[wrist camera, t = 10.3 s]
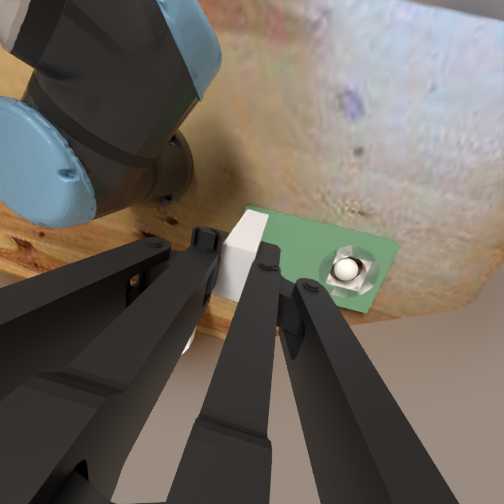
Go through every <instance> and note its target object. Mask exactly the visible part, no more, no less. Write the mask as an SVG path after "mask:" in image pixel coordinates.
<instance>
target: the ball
mask: <svg viewBox="0 0 504 504" xmlns="http://www.w3.org/2000/svg"><path fill="white" fill-rule="evenodd" d="M334 273H335V275H336V276H337V277H338V278H339V279H341V280H345V281H347V280H351V279H353V278H354V277H355V276H356V275H357V273H358V266H357V264H356V262H355V261H354V260H352V259H350V258H342V259H339V260H338V261H337V262H336V263H335V265H334Z"/></svg>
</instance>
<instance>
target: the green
mask: <svg viewBox="0 0 504 504" xmlns="http://www.w3.org/2000/svg"><path fill="white" fill-rule="evenodd" d="M247 209H249V210H253V211H256V212H260V213H264V214H268V215H269V217H268V220H267V224H266V228H265V231H264V235H263V239H262V241H264V242H267V243H271V244H275V245H278V246H279V248H280V249H281V254H280V264H279V267H280V268H281V275H282V276H283V277H284V278H286V279H287V280H289V281H291V282H293V283H295V282H296V281H297V279H299V278H308V279H313V280H316V281H318V282H319V283H320V284H322V285H323V286H324V287H325V288H326V290H327V291H328V293H329V294H330V296H331V298H332V299H333V301H334V302H335V304H336V306H340V307H344V308H348V309H351V310H355V311H359V312H363V313H367V312H368V310H369V308H370V306H371V304H372V302H373V300H374V298H375V296H376V294H377V292H378V290H379V288H380V286H381V284H382V282H383V280H384V277H385V275H386V273H387V271H388V269H389V267H390V265H391V263H392V261H393V259H394V257H395V255H396V253H397V251H398V249H399V247H400V244H399V243H398V242H396V241H395V240H393V239H389V238H385V237H380V236H376V235H372V234H368V233H364V232H359V231H355V230H351V229H347V228H343V227H338V226H334V225H330V224H326V223H322V222H317V221H313V220H309V219H305V218H300V217H296V216H292V215H288V214H284V213H279V212H275V211H271V210H267V209H263V208H258V207H254V206H250V205H247V206H246V207H245V210H244V214H245V212H246V211H247ZM346 257H353V258H357V259H360V260H361V261H362V264H363V268H362V271H361V273H360V275H358V276H357V277H356V278H354V279H353V280H349V281H340V280H336V279H334V278H333V277H332V276H331V275H330V270H331V268H332V265H333V264H334V263H336V262H337V261H338V260H339V259H342V258H346Z"/></svg>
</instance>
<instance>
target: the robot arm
mask: <svg viewBox="0 0 504 504" xmlns="http://www.w3.org/2000/svg"><path fill="white" fill-rule="evenodd" d="M0 44H1V46H2V48H3V49H4V50H6V51H7V52H8V53H10V54H12V55H13V56H15V57H17V58H18V59H20V60H21V61H23V62H25V63H26V64H28V65H30V66H31V67H33V68H34V71H33V73H32V76H31V78H30V80H29V83H28V85H27V87H26V90H25V92H24V94H23V97H22V98H21V99H20V100H18V99H15V98H10V97H6V96H0V200H1V201H2V202H3V203H4V204H5V205H6V206H7V207H9V208H10V209H11V210H12V211H13V212H15V213H16V214H18V215H19V216H21V217H22V218H24V219H26V220H27V221H29V222H32V223H34V224H36V225H39V226H43V227H50V228H56V229H57V228H66V227H71V226H76V225H83V224H86V223H89V222H90V221H91V220H94V219H97V218H100V217H102V216H105V215H108V214H111V213H114V212H116V211H119V210H122V209H125V208H127V207H130V206H133V205H140V206H146V207H160V206H165V205H167V204H170V203H172V202H174V201H176V200H177V199H179V198H180V197H181V196H182V195H183V194H184V193H185V191H186V190H187V188H188V186H189V184H190V182H191V178H192V172H193V162H192V156H191V152H190V149H189V146H188V144H187V142H186V140H185V138H184V136H183V135H182V133H181V132H180V131H179V130H178V128H179V127H180V126H181V124H182V123H183V122H184V120H185V119H186V118H187V116H188V115H189V114H190V112H191V111H192V110H193V108H194V107H195V106H196V104H197V103H198V102H199V101H200V102H201V101H202V99H203V94H204V92H205V91H206V89H207V88H208V86H209V85H210V83H211V82H212V80H213V79H214V77H215V76H216V74H217V73H218V71H219V69H220V66H221V62H222V54H221V48H220V45H219V42H218V39H217V37H216V35H215V32H214V30H213V28H212V26H211V24H210V23H209V21H208V19H207V17H206V15H205V14H204V12H203V10H202V8H201V6H200V5H199V3H198V1H197V0H0ZM268 217H269V215H268V214H264V213H260V212H256V211H253V210H249V209H247V211H246V212H245V214H244V215H243V216H242V218H241V219H240V221H239V222H238V223H237V225H236V226H235V228H234V229H233V230H232V232H231V233H228V232H225V231H221V230H216V229H214V228H210V227H195V228H193V232H192V240H191V246H190V247H189V248H188V249H187V250H186V251H174V250H171V244H170V242H169V241H167V240H165V239H162V238H159V237H148V238H143V239H140V240H137V241H134V242H131V243H129V244H126V245H123V246H120V247H117V248H114V249H111V250H108V251H106V252H103V253H100V254H97V255H94V256H91V257H88V258H86V259H83V260H80V261H77V262H74V263H71V264H68V265H66V266H63V267H60V268H57V269H54V270H51V271H48V272H45V273H43V274H40V275H37V276H34V277H31V278H28V279H25V280H23V281H20V282H17V283H14V284H11V285H8V286H5V287H3V288H0V504H115V503H113V502H111V501H110V500H111V498H112V495H113V493H114V490H115V488H116V485H117V482H118V479H119V476H120V473H121V470H122V468H123V465H124V463H125V461H126V459H127V457H128V455H129V453H130V451H131V449H132V447H133V445H134V443H135V441H136V440H137V438H138V436H139V434H140V432H141V430H142V428H143V426H144V424H145V422H146V421H147V419H148V417H149V415H150V413H151V411H152V409H153V407H154V405H155V403H156V402H157V400H158V398H159V396H160V394H161V392H162V390H163V388H164V386H165V385H166V382H167V381H168V379H169V377H170V375H171V373H172V371H173V369H174V367H175V366H176V364H177V362H178V360H179V358H180V356H181V354H182V352H183V351H184V349H185V347H186V345H187V343H188V341H189V339H190V337H191V335H192V334H193V332H194V330H195V328H196V326H197V324H198V322H199V320H200V318H201V317H202V315H203V313H204V311H205V309H206V307H207V305H208V303H209V301H210V297H211V292H212V290H213V288H214V291H213V295H215V296H219V297H222V298H226V299H229V300H233V301H236V302H238V305H237V308H236V311H235V313H234V316H233V319H232V322H231V325H230V328H229V331H228V334H227V336H226V339H225V342H224V345H223V348H222V351H221V354H220V357H219V359H218V363H217V365H216V368H215V371H214V374H213V377H212V380H211V383H210V385H209V388H208V391H207V394H206V397H205V400H204V403H203V406H202V409H201V411H200V414H199V416H198V417H197V418H196V420H195V423H194V425H193V427H192V430H191V433H190V436H189V438H188V441H187V444H186V447H185V449H184V452H183V455H182V458H181V461H180V463H179V466H178V469H177V472H176V475H175V477H174V480H173V483H172V486H171V489H170V492H169V494H168V497H167V500H166V502H160V503H138V504H269V496H270V481H271V465H272V446H271V441H270V440H269V439H268V437H267V427H268V415H269V403H270V391H271V380H272V369H273V358H274V346H275V335H276V325H277V326H278V327H279V336H280V340H281V344H282V348H283V352H284V356H285V360H286V365H287V369H288V372H289V377H290V380H291V385H292V389H293V393H294V397H295V401H296V405H297V409H298V413H299V417H300V421H301V426H302V430H303V434H304V438H305V442H306V446H307V450H308V454H309V458H310V462H311V466H312V470H313V474H314V478H315V482H316V486H317V490H318V494H319V499H320V503H321V504H459V503H458V501H457V499H456V498H455V496H454V494H453V493H452V491H451V490H450V488H449V486H448V485H447V483H446V482H445V480H444V478H443V477H442V475H441V474H440V472H439V470H438V469H437V467H436V466H435V464H434V462H433V461H432V459H431V457H430V456H429V454H428V452H427V451H426V449H425V448H424V446H423V444H422V443H421V441H420V440H419V438H418V436H417V435H416V433H415V432H414V430H413V428H412V427H411V425H410V424H409V422H408V420H407V419H406V417H405V416H404V414H403V412H402V411H401V409H400V407H399V406H398V404H397V402H396V401H395V399H394V398H393V396H392V394H391V393H390V391H389V390H388V388H387V386H386V385H385V383H384V382H383V380H382V378H381V377H380V375H379V373H378V372H377V370H376V369H375V367H374V366H373V364H372V362H371V361H370V359H369V357H368V356H367V354H366V352H365V351H364V349H363V348H362V346H361V344H360V343H359V341H358V340H357V338H356V336H355V335H354V333H353V331H352V330H351V328H350V327H349V325H348V323H347V322H346V320H345V319H344V317H343V315H342V314H341V312H340V311H339V309H338V307H337V306H336V304H335V302H334V301H333V299H332V298H331V296H330V294H329V293H328V291H327V290H326V288H325V287H324V286H323V285H322V284H320V283H319V282H318V281H316V280H313V279H308V278H299V279H297V281H296V282H295V283H293V282H291V281H289V280H287V279H286V278H284V277H283V276H282V275H281V268H280V267H279V264H280V254H281V249H280V248H279V246H278V245H275V244H271V243H267V242H264V241H262V239H263V235H264V231H265V228H266V224H267V220H268ZM135 275H136V283H135V284H133V285H131V284H130V279H131V278H132V277H133V276H135Z"/></svg>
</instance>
